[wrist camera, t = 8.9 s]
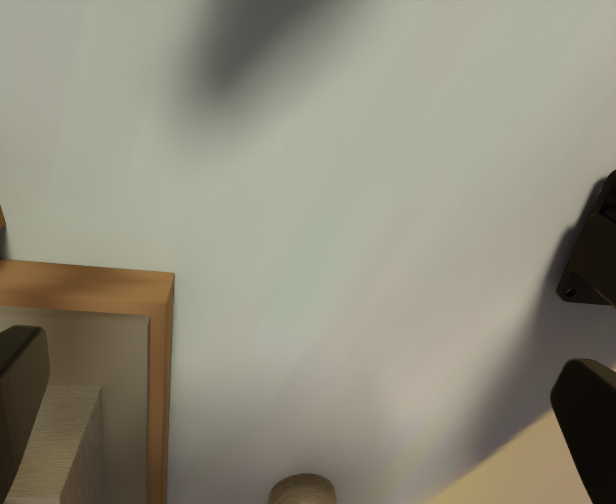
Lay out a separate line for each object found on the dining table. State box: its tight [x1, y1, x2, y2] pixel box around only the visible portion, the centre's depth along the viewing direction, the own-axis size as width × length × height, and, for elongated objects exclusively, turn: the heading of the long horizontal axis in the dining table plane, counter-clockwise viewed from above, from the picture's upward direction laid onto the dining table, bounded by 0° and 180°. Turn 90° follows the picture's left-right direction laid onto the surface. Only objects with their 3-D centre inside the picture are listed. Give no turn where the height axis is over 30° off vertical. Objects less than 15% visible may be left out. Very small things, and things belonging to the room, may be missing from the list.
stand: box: [0, 259, 174, 504], centre depth 23 cm, size 10×16×3 cm, turn 171°
